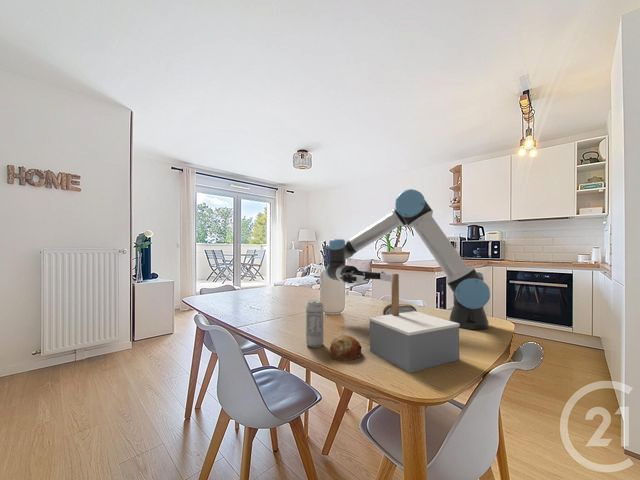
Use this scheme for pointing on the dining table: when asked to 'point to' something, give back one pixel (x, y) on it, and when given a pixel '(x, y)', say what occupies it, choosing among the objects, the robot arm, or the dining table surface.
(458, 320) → the robot arm
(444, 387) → the dining table surface
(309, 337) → the energy drink can
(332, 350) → the bread roll
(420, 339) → the carton
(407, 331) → the flap
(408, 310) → the tin
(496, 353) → the dining table surface
